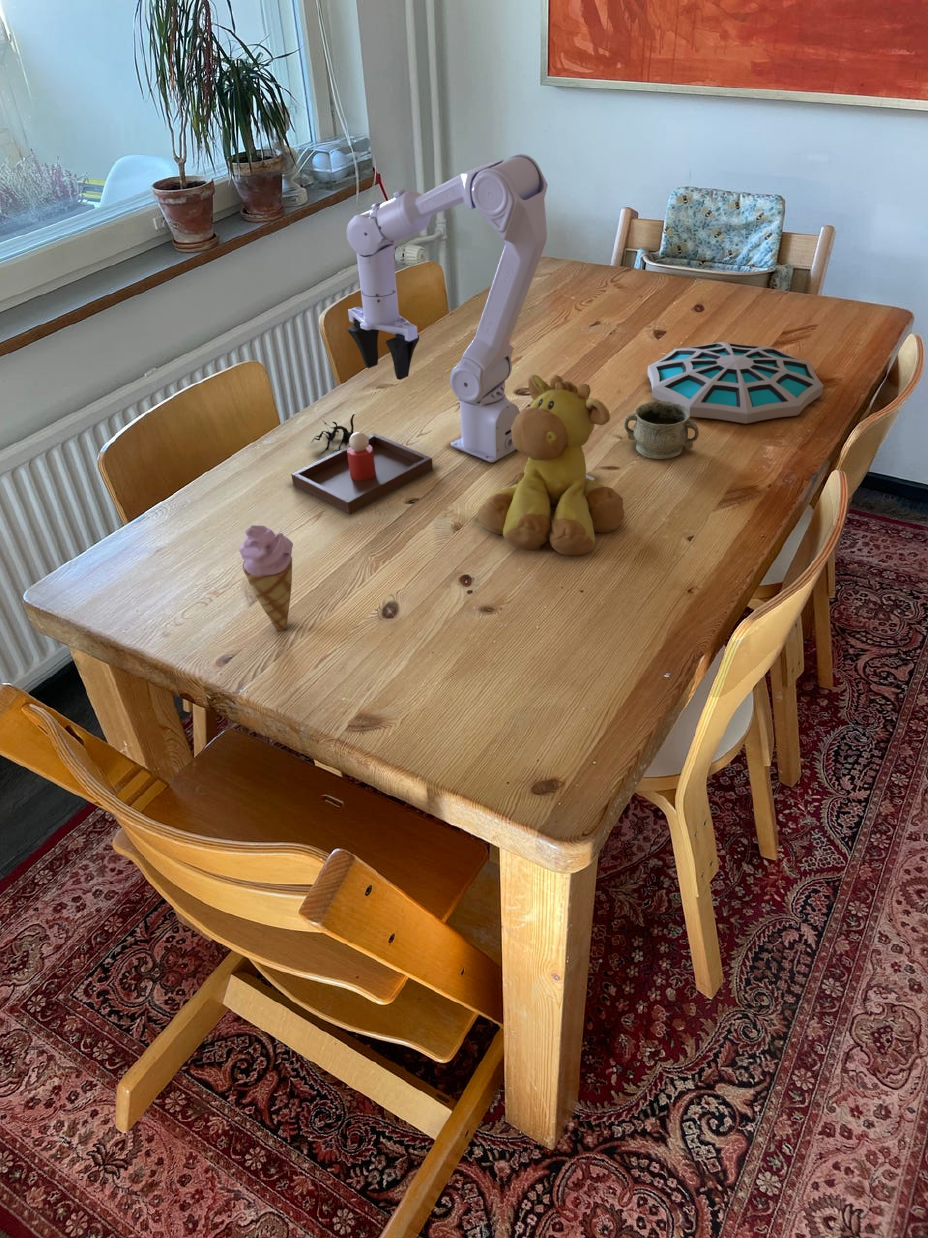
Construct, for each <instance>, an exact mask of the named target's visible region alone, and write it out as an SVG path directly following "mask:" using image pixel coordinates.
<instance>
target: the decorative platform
mask: <svg viewBox="0 0 928 1238" xmlns="http://www.w3.org/2000/svg"><path fill="white" fill-rule="evenodd" d="M646 373H647V377H648V379H649V381H650V384H651V398H653V399H655V400H656V401H663V402H673V403H677V404H680V405H682V406H684V407H685V408H686V409H687V410H688V411H689V412H690V417H689V418H691V417H692V418H703V419H714V420H721V421H728V422H734V423H740V424H746V425H747V424H751V423H756V422H760V421H766V420H771V419H772V420H773V419H777V418H786V417H794V416H795V417H797V416H799V415H800V413H802V411H803V410H804V409H805V408H806V407H807V406H808V405H810V404H811V403H812V402H813V401H815V400H816V399H818V398H820V397H821V396H822V395H823V392H824V384H823V383H822V381H821V380H820V379H819V378H818V376H817V375H816V372H815V370H814V367H813V364H812V362H809V361H806V360H803V359H801V358H798V357H795V356H792V355H790V354H787V353H786V352H783V351H781V350H779V349H777V348H776V347H775V348H774V347H773V346H759V345H749V344H738V343H731V342H724V341H718V342H714V343H708V344H702V345H695V346H689V347H687V346H686V347H679V348H678V347H677V348H674V349H672V350H671V351H670V352H669V353H668V354H666V355H665V356H664V357H662V358H660V359H658V360H657V361H655V362H653V363H650V364H648V366H647V372H646Z"/></svg>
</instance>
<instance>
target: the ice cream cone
mask: <svg viewBox="0 0 928 1238" xmlns="http://www.w3.org/2000/svg"><path fill="white" fill-rule="evenodd" d="M244 533H245V536H247V537H245V538H244V541H243V544H242V545H241V546H240V547H239V548H238V552H239V553H240V556H241V559H242V560H243V563H242V571H243V573H244V575H245V577H246V579H247V582H248V584H249V586H250V587H251V589H252V591H253V593H254V595H255V597H256V599H257V601H258V602H259V604H260V606H261V607H262V609H263V611H264V612H265V614H266V616H267V618H268V619H269V621H270V622H271V624H272V625H273V627H274V629H275V630H276V631H278V632H282V631H285V630H286V629H287V626H288V619H289V611H290V604H291V595H292V582H293V556H292V552H293V547H294V543H293V542H292V540H291V539H290V538H288V536H285V535H284V534H283V533H282V532H279V533H277V534H276V533H275V532H274V531H273V530H272V529H271V528H268V527H267V526H265V525H250V526H249V527H247V528H246V529H245V531H244Z"/></svg>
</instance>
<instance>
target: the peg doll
mask: <svg viewBox="0 0 928 1238" xmlns="http://www.w3.org/2000/svg"><path fill="white" fill-rule="evenodd" d="M348 444H349V446H350V447H349V448H348V449H347V454H348V462H349V469H350V476H351V478H352V479H354V480H359V481H363V480H368V479H371V478H373V477H374V476H375V474H376V472H375V463H374V455H373V448H372V446H371V445H369V440H368V436H367V434H365V433H364V432H362V431H356V432H353V434H352V435H351V437H350V439H349V443H348Z"/></svg>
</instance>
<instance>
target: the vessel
mask: <svg viewBox="0 0 928 1238" xmlns="http://www.w3.org/2000/svg"><path fill="white" fill-rule="evenodd" d="M634 412H635V413H634ZM634 412H633V413H629V414H628V415H627V416H626V417H625V419H624V423H623V425H624V430H625V431H626V433H627V439H628V440H630V441H635V440H636V444H635V449H636V451H637V452H638V453H639V454H640V455H642V456H643V457H645V458H649V459H653V460H666V459H672V458H675V457H677V456H679V455H680V454H681V453H683V445H684V444H685V449H686V450H690V449H692V448H693V447H694V442H696V441H697V440H698V438H699V435H700V431H699V428H698V426H697V425H698V424H696V422H695V421H693V420H689V419H690V418H691V417H690V412H689V411H688V410H687V409H686V408H685V407H684V406H682V405H680V404H677V403H673V402H663V401H660V400H655V401H650V402H646V403H643V404H641V405H639V406H638V407H636V409H635V411H634ZM631 421H634V422H635V423H634V425H633V429H630V427H629V423H630V422H631ZM689 429H692V430H693V431H694V436H693V437H691V438H690V437H689Z"/></svg>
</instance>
